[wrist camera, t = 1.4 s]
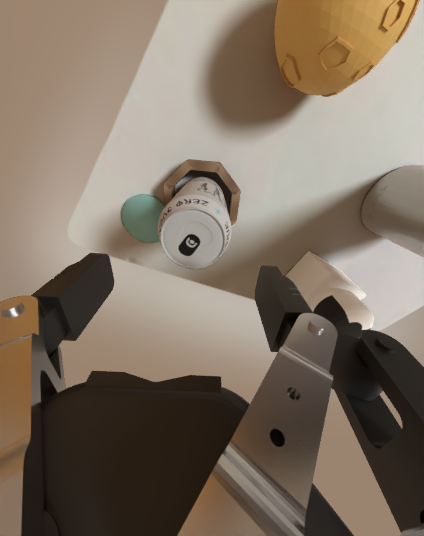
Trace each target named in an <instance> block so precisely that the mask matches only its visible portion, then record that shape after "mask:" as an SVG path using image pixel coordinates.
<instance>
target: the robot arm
mask: <svg viewBox="0 0 424 536" xmlns="http://www.w3.org/2000/svg"><path fill="white" fill-rule="evenodd" d="M361 218H362V222H363V224H364V226H365V227H366V228H367V229H368V230H370V231H371V232H373V233H375V234H377V235H379V236H381V237H383V238H386V239H388V240H390V241H391V242H393V243H395V244H397V245H399V246H401V247H404V248H406V249H408V250H410V251H412V252H414V253H416V254H418V255H420V256H422V257H424V166H421V165H410V166H404V167H401V168H398V169H396V170H394V171H392V172H390V173H388V174H387V175H385V176H384V177H383V178H381V179H380V180H379V181H378V182H377V183H376V184H375V185H374V186H373V187H372V189H371V190H370V191H369V193H368V194H367V196H366V198H365V200H364V203H363V206H362V211H361ZM113 286H114V277H113V272H112V268H111V263H110V258H109V256H108V255H107V254H100V253H89V254H88V255H87V256H86V257H84V258H83V259H82V260H81V261H79V262H77V263H75V264H73V265H70V266H68V267H67V268H65V269H64V270H63V271H62V272H61V273H60V274H58V275H57V276H55V277H54V279H51V280H50V281H49V282H48V283H46V284H45V285H44V286H43V287H41V288H40V289H39V290H37V291H36V292H35V293H34V294H32V295H31V296H18V297H13V298H10V299H7V300H4V301H2V302H0V536H354V535H353V534H352V533H351V531H350V530H349V529H348V528H347V526H346V525H345V524H344V522H343V521H342V520H341V519H340V517H339V516H338V515H337V513H336V512H335V511H334V510H333V508H332V507H331V506H330V505H329V503H328V502H327V501H326V499H325V498H324V497H323V496H322V494H321V493H320V492H319V491H318V489H317V488H316V487H315V485H314V484H313V483H312V481H313V476H314V471H315V466H316V461H317V456H318V451H319V446H320V442H321V437H322V431H323V427H324V422H325V417H326V412H327V407H328V402H329V397H330V392H331V388H332V389H334V390H335V392H336V394H337V397H338V398H339V401H340V403H341V405H342V407H343V409H344V411H345V414H346V416H347V418H348V420H349V422H350V424H351V427H352V429H353V430H354V433H355V435H356V437H357V439H358V441H359V443H360V445H361V448H362V450H363V452H364V454H365V456H366V459H367V461H368V463H369V465H370V467H371V469H372V471H373V473H374V476H375V478H376V480H377V482H378V484H379V486H380V488H381V491H382V493H383V495H384V497H385V499H386V501H387V504H388V506H389V508H390V510H391V512H392V514H393V516H394V518H395V521H396V523H397V525H398V527H399V529H400V531H401V535H400V536H424V367H423V366H422V365H421V364H420V363H419V362H418V361H417V360H416V359H415V358H414V356H413V355H412V354H411V353H410V352H409V351H408V350H407V349H406V348H405V347H404V346H403V345H402V344H401V343H399V342H398V341H397V340H395V339H394V338H392V337H390V336H388V335H386V334H384V333H381V332H378V331H374V330H367V331H364V332H363V333H362V335H361V336H360V338H356V337H352V336H349V335H346V334H342V333H339V332H337V330H336V328H335V326H334V325H333V324H332V323H331V322H330V321H328V320H327V319H325V318H324V317H322V316H319V315H317V314H314V313H313V312H312V310H311V309H310V307H309V306H308V304H307V302H306V301H305V299H304V298H303V296H302V295H301V293H300V292H299V290H298V288H297V287H296V285H295V284H294V282H293V281H291V280H290V279H289V278H288V277H286V276H282V274H281V273H280V271H279V269H278V268H277V267H276V266H261V268H260V272H259V276H258V280H257V285H256V289H255V301H256V304H257V307H258V311H259V314H260V317H261V321H262V324H263V327H264V330H265V334H266V337H267V341H268V344H269V347H270V350H271V352H278V353H277V355H276V357H275V359H274V360H273V362H272V364H271V366H270V368H269V370H268V372H267V373H266V375H265V377H264V379H263V381H262V383H261V385H260V387H259V388H258V391H257V392H256V394H255V396H254V398H253V400H252V401H251V403H250V404H249V403H248V402H247V401H245V400H244V399H243V398H242V397H240V396H239V395H237V394H236V393H234V392H232V391H230V390H228V389H226V388H223V387H221V377H217V376H195V375H189V376H184V377H179V378H175V379H170V380H165V381H161V382H152V381H149V380H146V379H143V378H140V377H137V376H134V375H131V374H128V373H125V372H107V371H92V372H91V374H90V375H89V377H88V379H87V381H86V382H85V383H81V384H78V385H74V386H72V387H70V388H67V389H66V385H65V378H64V370H63V363H62V355H61V349H60V347H59V344H60V343H61V342H62V340H69V341H76V340H77V338H78V337H79V335H80V334H81V332H82V331H83V330H84V328H85V327H86V326H87V324H88V323H89V322H90V320H91V319H92V318H93V316H94V315H95V313H96V312H97V311H98V309H99V308H100V306H101V305H102V304H103V302H104V301H105V300H106V298H107V297H108V295H109V294H110V293H111V291H112V290H113ZM382 391H384V392H385V394H386V395H387V397H388V398H389V399H390V401H391V402H392V404H393V405H394V407H395V408H396V410H397V411H398V413H399V415H400V417H401V420H402V425H403V428H402V429H401V427H400V426H399V424H398V422H397V421H396V419H395V418H394V416H393V415H392V413H391V412H390V410H389V408H388V407H387V405H386V404H385V402H384V401H383V399H382V398H381V396H380V395H379V394H380V393H381V392H382Z"/></svg>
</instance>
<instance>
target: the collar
mask: <svg viewBox="0 0 424 536" xmlns="http://www.w3.org/2000/svg"><path fill="white" fill-rule="evenodd" d="M190 170H198V171H208V172H217V174H218V175H219V176H220V178H221V179H222V180H223V182H224V183H225V184H226V186H227V187H228V188H229V190H230V191H231V193H230V201H229V209H228V214H229V218H230V222H231V226H232V225H233V224H234V223H235V221H236V220H237V213H238V206H239V200H240V193H241V191H240V189H239V188H238V186H237V185H236V183H235V182H234V181H233V179H232V178H231V176H230V175H229V174H228V172H227V171H226V170H225V168H224V167H223V165H222V164H221V163H220V162H212V161H201V160H191V159H189V160H186V161H185V162H184V163H183V164H182V165H181V166H180V167H179V168H178V169H177V170H176V172H175V173H174V174H173V175H172V176H171V177H170V178H169V179H168V180H167V181H166V182H165V183H164V208H165V207H166V205H167V204H168V203H169V202H170V201H171V200H172V199H173V198H174V196H175V185H176V184H177V183H178V182H179V181H180V180H181V179H182V178H183V177H184V176H185V175H186V174H187V173H188V172H189V171H190Z"/></svg>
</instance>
